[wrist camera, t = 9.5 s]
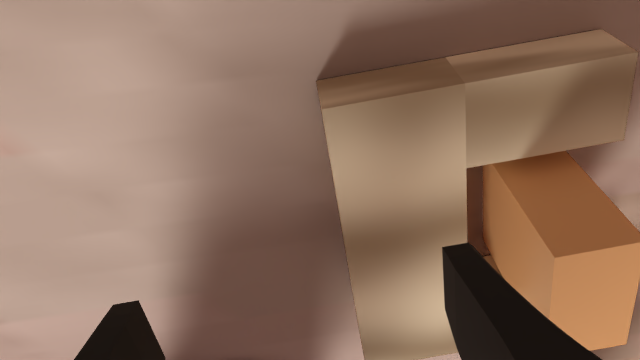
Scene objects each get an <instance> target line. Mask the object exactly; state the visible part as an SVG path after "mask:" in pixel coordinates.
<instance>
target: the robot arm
mask: <svg viewBox="0 0 640 360" xmlns="http://www.w3.org/2000/svg"><path fill="white" fill-rule="evenodd" d="M442 258H443V280H444V303H445V311H446V315H447V318H448V321H449V325H450V328H451V331H452V335H453V338H454V341H455V344H456V347H457V350H458V352H459V355H460V357H461V359H462V360H602V359H600V358H599V357H598V356H596V355H595V354H593V353H592V352H591V351H589V350H588V349H586V348H585V347H584V346H582V345H581V344H579V343H578V342H577V341H575V340H574V339H573V338H572V337H570V336H569V335H568V334H566V333H565V332H564V331H563V330H561V329H560V328H559V327H558V326H556V325H555V324H554V323H553V322H552V321H550V320H549V319H548V318H547V317H546V316H544V315H543V314H542V313H541V312H540V311H539V310H537V309H536V308H535V307H534V306H533V305H532V304H531V303H530V302H528V301H527V300H526V299H525V298H524V297H523V296H522V295H521V294H520V293H519V292H517V291H516V290H515V289H514V288H513V287H512V286H511V285H510V284H509V283H508V282H507V281H506V280H505V279H504V278H503V277H502V276H501V275H500V274H499V273H498V272H497V271H496V270H495V269H494V268H493V267H492V266H491V265H490V264H489V263H488V262H487V261H486V260H485V259H484V258H483V257H482V255H481V254H480V253H479V252H478V251H477V250H476V249H475V248H474V247H473V246H472V245H471V244H469V243H463V244H457V245H451V246H446V247H442ZM74 360H165V356H164V354H163V352H162V350H161V347H160V345H159V343H158V341H157V339H156V337H155V335H154V332H153V330H152V328H151V326H150V324H149V322H148V320H147V318H146V315H145V313H144V311H143V309H142V307H141V305H140V303H139V300H138V301H132V302H127V303H121V304H115V305H113V306H112V307H111V309H110V310H109V311H108V313H107V314H106V315H105V317H104V318H103V319H102V321H101V322H100V324H99V325H98V326H97V328H96V329H95V331H94V332H93V334H92V335H91V336H90V338H89V339H88V341H87V342H86V343H85V345H84V346H83V348H82V349H81V351H80V352H79V353H78V355H77V356H76V358H75V359H74Z"/></svg>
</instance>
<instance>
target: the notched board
mask: <svg viewBox="0 0 640 360" xmlns="http://www.w3.org/2000/svg"><path fill="white" fill-rule="evenodd" d="M637 58H638V51H636V50H634V49H633V48H631V47H630V46H628V45H626V44H625V43H623V42H622V41H620V40H618V39H617V38H615V37H614V36H612V35H610V34H609V33H607V32H606V31H604V30H602V29H599V30H593V31H588V32H582V33H577V34H571V35H565V36H560V37H554V38H549V39H543V40H538V41H532V42H527V43H521V44H516V45H510V46H505V47H499V48H494V49H488V50H483V51H477V52H472V53H466V54H461V55H455V56H450V57H444V58H439V59H433V60H428V61H422V62H417V63H411V64H406V65H400V66H395V67H389V68H384V69H378V70H373V71H367V72H362V73H356V74H351V75H345V76H340V77H334V78H329V79H323V80H317V81H316V84H317V89H318V95H319V101H320V107H321V113H322V118H323V124H324V130H325V136H326V142H327V147H328V153H329V159H330V165H331V171H332V176H333V182H334V188H335V194H336V200H337V205H338V211H339V217H340V223H341V229H342V234H343V240H344V246H345V252H346V258H347V263H348V269H349V275H350V281H351V287H352V293H353V298H354V304H355V310H356V316H357V322H358V327H359V333H360V338H361V343H362V349H363V354H364V359H365V360H418V359H423V358H429V357H435V356H440V355H446V354H452V353H458V350H457V347H456V344H455V341H454V338H453V335H452V331H451V328H450V325H449V321H448V318H447V315H446V311H445V303H444V280H443V258H442V247H446V246H451V245H457V244H463V243H467V181H466V168H471V167H477V166H482V165H488V164H494V163H499V162H505V161H510V160H516V159H522V158H527V157H533V156H538V155H544V154H549V153H555V152H561V151H566V150H572V149H577V148H583V147H589V146H594V145H600V144H605V143H611V142H617V141H622V140H624V136H625V130H626V124H627V118H628V112H629V106H630V100H631V94H632V88H633V82H634V76H635V70H636V64H637ZM483 258H484V259H485V260H486V261H487V262H488V263H489V264H490V265H491V266H492V267H493V268H494V269H495V270H496V271H497V272H498V273H499V274H500V275H501V276H502V274H501V272H500V271H499V269H498V267H497V265H496V263H495V261H494V259H493V257H492V255H489V256H483ZM502 277H503V276H502Z"/></svg>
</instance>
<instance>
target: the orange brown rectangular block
mask: <svg viewBox="0 0 640 360" xmlns="http://www.w3.org/2000/svg"><path fill="white" fill-rule="evenodd" d="M483 240H484V242H485V244H486V246H487V248H488V249H489V251H490V253H491V255H492V257H493V259H494V261H495V263H496V265H497V267H498V269H499V271H500V272H501V274H502V276H503V278H504V279H505V280H506V281H507V282H508V283H509V284H510V285H511V286H512V287H513V288H514V289H515V290H516V291H517V292H519V293H520V294H521V295H522V296H523V297H524V298H525V299H526V300H527V301H528V302H530V303H531V304H532V305H533V306H534V307H535V308H536V309H537V310H539V311H540V312H541V313H542V314H543V315H544V316H546V317H547V318H548V319H549V320H550V321H552V322H553V323H554V324H555V325H556V326H558V327H559V328H560V329H561V330H563V331H564V332H565V333H566V334H568V335H569V336H570V337H572V338H573V339H574V340H575V341H577V342H578V343H579V344H581V345H582V346H584V347H585V348H586V349H588V350H589V351H591V350H597V349H602V348H608V347H613V346H619V345H625V344H626V343H627V338H628V333H629V328H630V324H631V319H632V314H633V309H634V304H635V300H636V295H637V290H638V285H639V280H640V232H639V231H638V230H637V229H636V228H635V227H634V225H633V224H632V223H631V222H630V221H629V220H628V219H627V218H626V217H625V216H624V214H623V213H622V212H621V211H620V210H619V209H618V208H617V207H616V206H615V205H614V203H613V202H612V201H611V200H610V199H609V198H608V197H607V196H606V195H605V193H604V192H603V191H602V190H601V189H600V188H599V187H598V186H597V185H596V184H595V182H594V181H593V180H592V179H591V178H590V177H589V176H588V175H587V174H586V173H585V171H584V170H583V169H582V168H581V167H580V166H579V165H578V164H577V163H576V162H575V160H574V159H573V158H572V157H571V156H570V155H569V154H568V153H567V152H566V151H561V152H555V153H549V154H544V155H538V156H533V157H527V158H522V159H516V160H510V161H505V162H499V163H494V164H488V165H483Z"/></svg>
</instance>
